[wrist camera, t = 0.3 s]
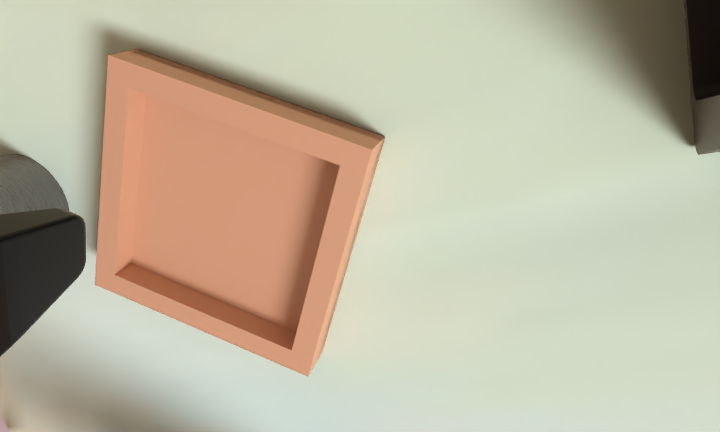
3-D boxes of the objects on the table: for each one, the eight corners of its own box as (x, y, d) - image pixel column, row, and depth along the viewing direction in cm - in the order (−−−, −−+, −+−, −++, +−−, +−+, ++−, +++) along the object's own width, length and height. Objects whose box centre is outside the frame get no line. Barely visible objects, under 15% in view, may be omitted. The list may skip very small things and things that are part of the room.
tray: (321, 352, 27) (307, 376, 26) (120, 267, 29) (94, 284, 28) (385, 136, 23) (372, 149, 21) (137, 49, 24) (108, 54, 23)
